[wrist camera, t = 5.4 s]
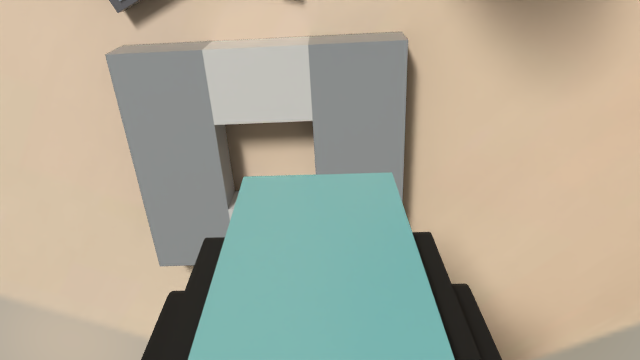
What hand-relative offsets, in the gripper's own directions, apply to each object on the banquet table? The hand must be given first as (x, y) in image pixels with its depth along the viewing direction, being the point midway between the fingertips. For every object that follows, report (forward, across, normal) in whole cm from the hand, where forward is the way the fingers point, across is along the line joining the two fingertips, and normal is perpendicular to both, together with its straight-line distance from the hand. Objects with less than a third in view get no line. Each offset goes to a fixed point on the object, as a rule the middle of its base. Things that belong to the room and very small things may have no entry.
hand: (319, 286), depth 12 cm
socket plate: (+18, +3, +4) cm, 19 cm away
